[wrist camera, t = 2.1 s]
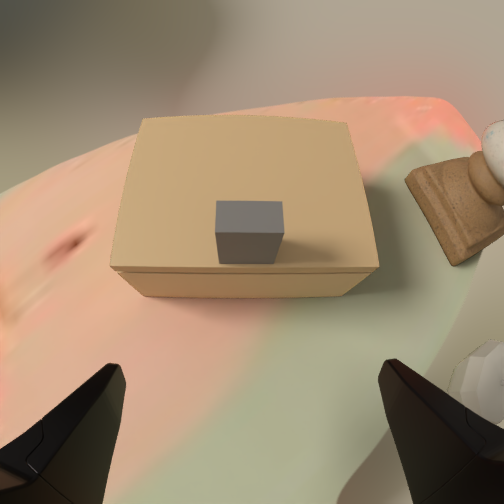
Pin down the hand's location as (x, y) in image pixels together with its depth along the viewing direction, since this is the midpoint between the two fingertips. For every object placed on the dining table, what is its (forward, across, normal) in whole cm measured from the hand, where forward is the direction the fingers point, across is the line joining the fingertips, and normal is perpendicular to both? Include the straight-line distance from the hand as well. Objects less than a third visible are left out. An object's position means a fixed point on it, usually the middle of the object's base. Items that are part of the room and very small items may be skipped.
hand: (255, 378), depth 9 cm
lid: (+13, 0, -4) cm, 14 cm away
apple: (+7, -20, +12) cm, 25 cm away
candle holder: (+20, -24, -1) cm, 31 cm away
